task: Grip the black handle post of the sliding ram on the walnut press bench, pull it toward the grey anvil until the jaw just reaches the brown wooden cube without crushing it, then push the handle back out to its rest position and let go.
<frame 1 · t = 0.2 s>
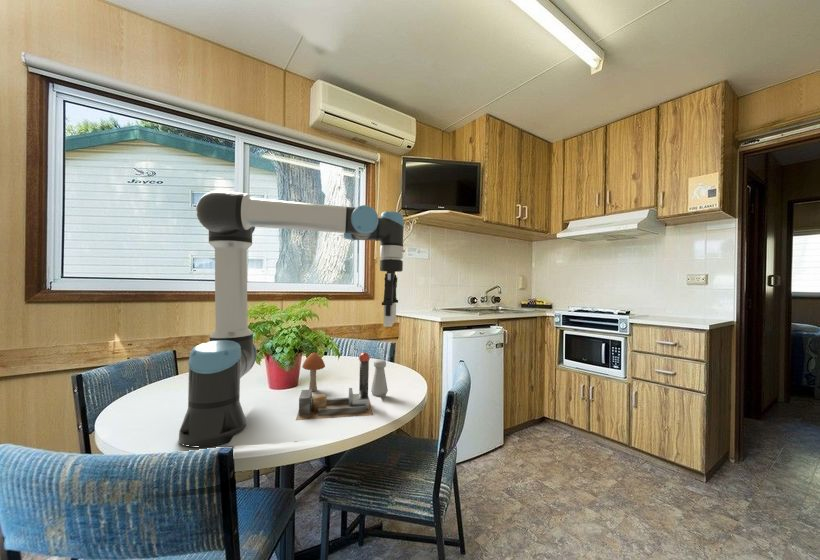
hand: (390, 324, 111), 27 cm above the table, tool pointing down, fingers open, 13 cm apart
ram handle: (359, 379, 106), point 10 cm above the table, slide at 0.0 cm
press bench: (335, 412, 104), on the table
salt shaker: (379, 397, 119), on the table
brown wooden cube: (319, 409, 103), point 1 cm above the table, touching press bench
mushroom: (313, 394, 121), on the table
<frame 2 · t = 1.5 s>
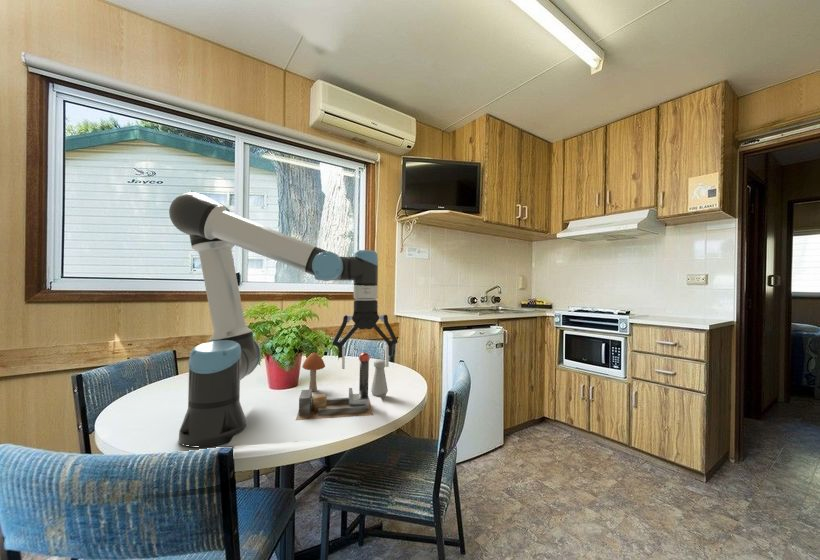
hand: (365, 367, 106), 14 cm above the table, tool pointing down, fingers open, 13 cm apart
nothing on the table moved.
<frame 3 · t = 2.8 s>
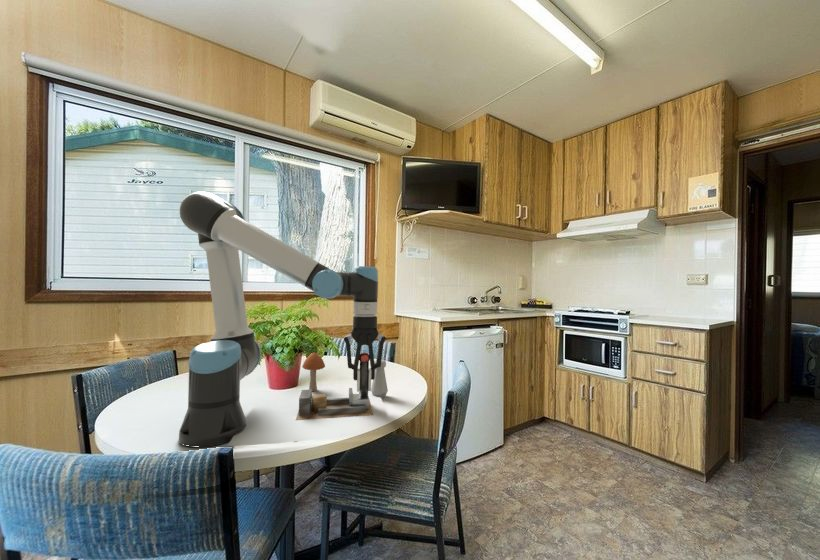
hand: (363, 389, 106), 7 cm above the table, tool pointing down, fingers closed on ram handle, 3 cm apart
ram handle: (359, 379, 106), point 10 cm above the table, slide at 0.0 cm, touching gripper
everything else where it was.
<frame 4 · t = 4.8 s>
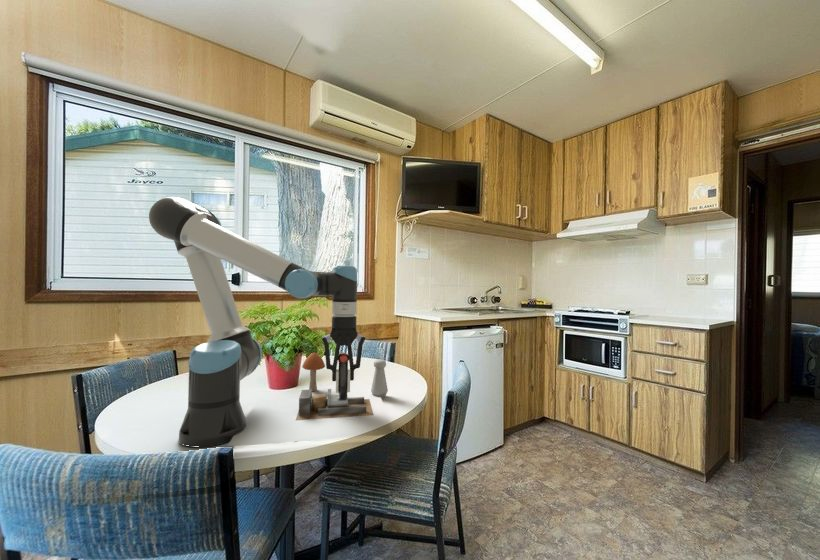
hand: (342, 390, 105), 7 cm above the table, tool pointing down, fingers closed on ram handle, 3 cm apart
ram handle: (338, 380, 105), point 10 cm above the table, slide at 6.5 cm, touching gripper
everything else where it was.
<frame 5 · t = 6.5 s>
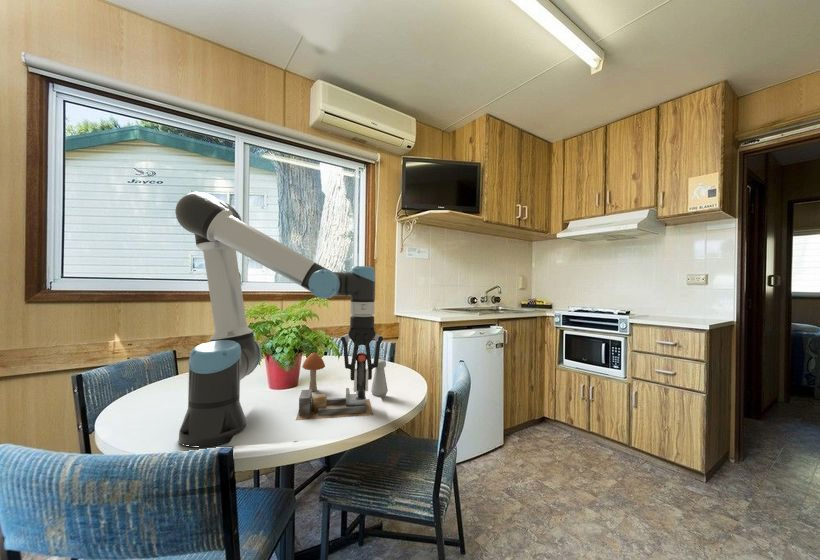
hand: (360, 390, 106), 7 cm above the table, tool pointing down, fingers closed on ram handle, 3 cm apart
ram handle: (356, 379, 106), point 10 cm above the table, slide at 0.9 cm, touching gripper
everything else where it was.
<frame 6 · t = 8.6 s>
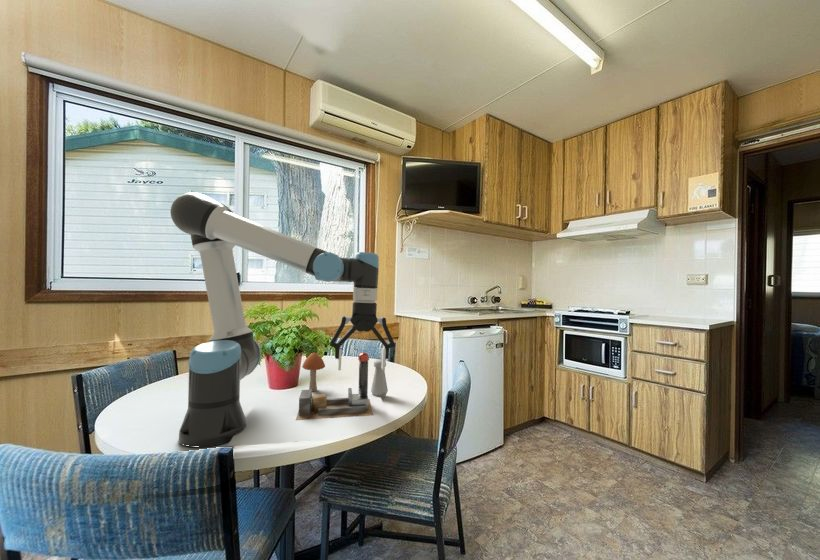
hand: (361, 369, 106), 13 cm above the table, tool pointing down, fingers open, 13 cm apart
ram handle: (358, 379, 106), point 10 cm above the table, slide at 0.2 cm
everything else where it was.
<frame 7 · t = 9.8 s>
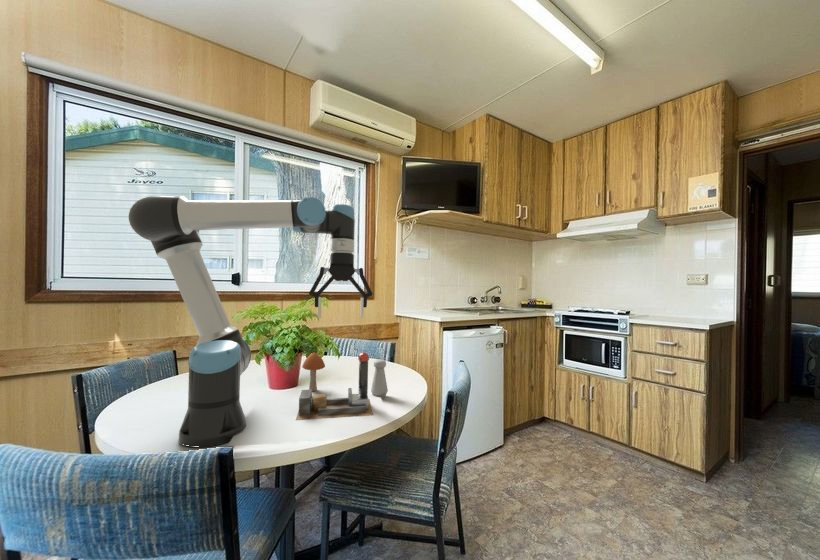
hand: (340, 317, 111), 29 cm above the table, tool pointing down, fingers open, 13 cm apart
nothing on the table moved.
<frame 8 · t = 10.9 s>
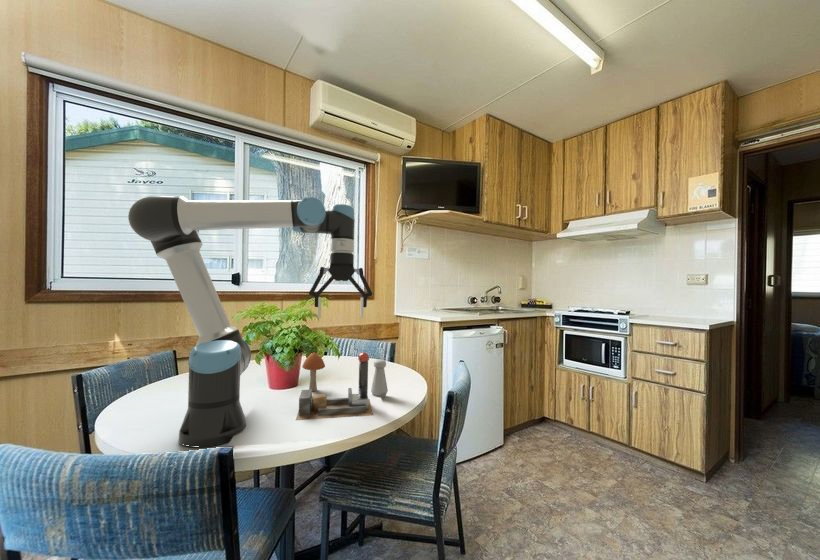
hand: (340, 317, 111), 29 cm above the table, tool pointing down, fingers open, 13 cm apart
nothing on the table moved.
at the end: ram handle slide at 0.2 cm; brown wooden cube 0.5 cm from the target spot, point 1.2 cm above the table; the gripper is holding nothing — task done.
